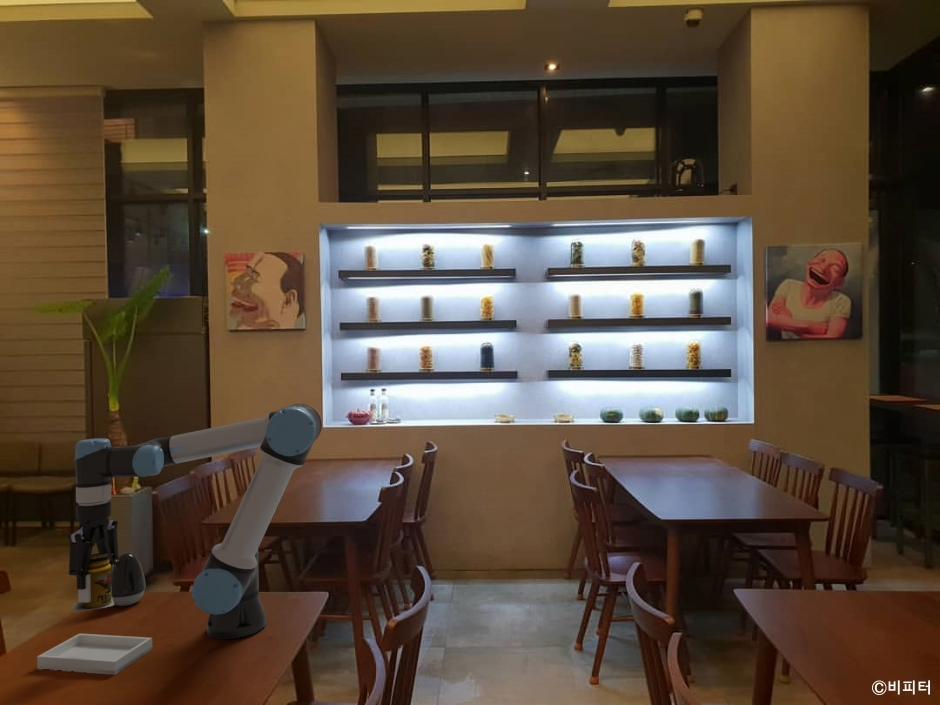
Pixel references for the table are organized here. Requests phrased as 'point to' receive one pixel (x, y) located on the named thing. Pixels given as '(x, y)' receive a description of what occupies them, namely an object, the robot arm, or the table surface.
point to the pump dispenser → (127, 580)
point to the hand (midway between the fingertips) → (95, 596)
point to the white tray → (95, 653)
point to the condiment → (98, 584)
